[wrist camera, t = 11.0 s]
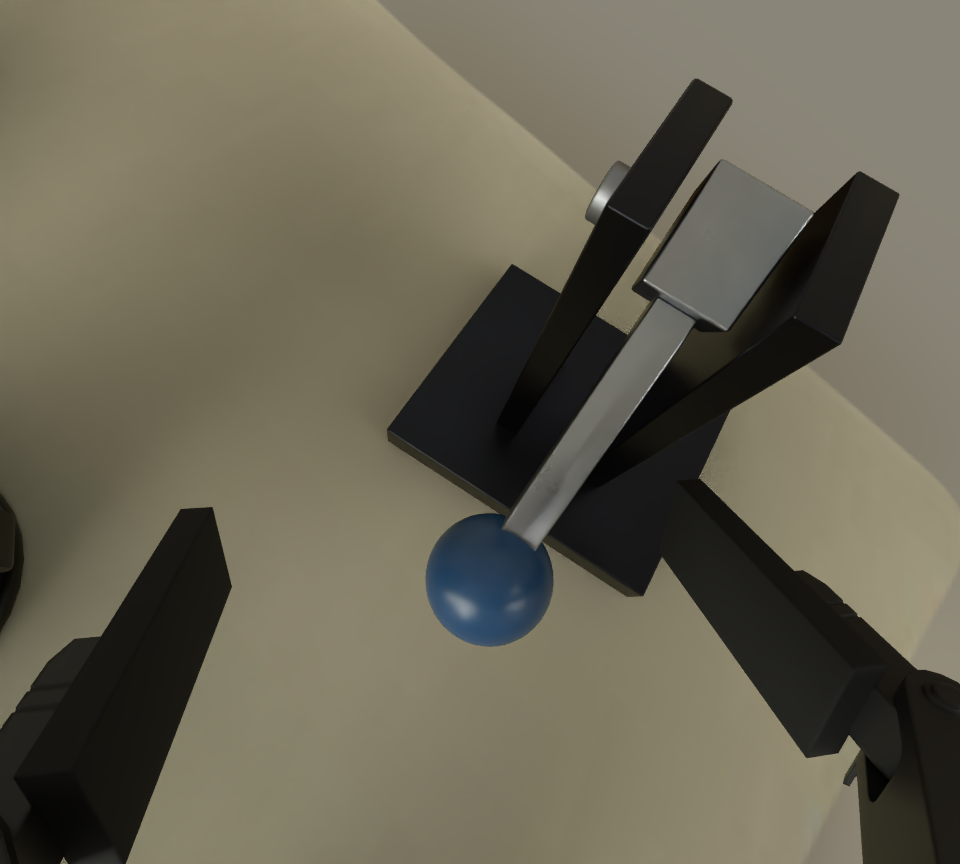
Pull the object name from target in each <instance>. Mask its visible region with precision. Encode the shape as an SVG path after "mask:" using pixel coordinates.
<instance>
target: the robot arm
mask: <svg viewBox="0 0 960 864" xmlns="http://www.w3.org/2000/svg"><path fill="white" fill-rule="evenodd" d="M659 553H660V554H661V556H662V557H663V558H664V560H665V561H666V563H667V564H668V565H669V567H670V568H671V570H672V571H673V572H674V574H675V575H676V577H677V578H678V579H679V581H680V582H681V584H682V585H683V586H684V588H685V589H686V591H687V592H688V593H689V595H690V596H691V597H692V599H693V600H694V602H695V603H696V604H697V606H698V607H699V609H700V610H701V611H702V613H703V614H704V616H705V617H706V618H707V620H708V621H709V623H710V624H711V625H712V627H713V628H714V630H715V631H716V632H717V634H718V635H719V637H720V638H721V639H722V641H723V642H724V644H725V645H726V646H727V648H728V649H729V651H730V652H731V653H732V655H733V656H734V658H735V659H736V660H737V662H738V663H739V665H740V666H741V667H742V669H743V670H744V672H745V673H746V674H747V676H748V677H749V679H750V680H751V681H752V683H753V684H754V686H755V687H756V688H757V690H758V691H759V693H760V694H761V695H762V697H763V698H764V699H765V701H766V702H767V704H768V705H769V706H770V708H771V709H772V711H773V712H774V713H775V715H776V716H777V718H778V719H779V720H780V722H781V723H782V725H783V726H784V727H785V729H786V730H787V732H788V733H789V734H790V736H791V737H792V739H793V740H794V741H795V743H796V744H797V746H798V747H799V748H800V750H801V751H802V753H803V754H804V755H805V757H806V758H811V757H817V756H823V755H830V754H836V753H839V751H840V749H841V748H842V746H843V744H844V742H845V741H846V739H847V737H848V735H850V736H851V738H852V739H853V740H854V741H855V742H856V744H857V745H858V746H859V747H860V749H861V750H860V751H859V753H858V755H857V756H856V758H855V760H854V761H853V763H852V765H851V766H850V768H849V769H848V771H847V773H846V774H845V777H844V782H843V784H845V785H847V786H850V784H851V783H852V781H853V779H854V778H855V777H856V776H857V781H858V796H859V811H860V825H861V841H862V855H863V864H960V684H959V683H958V682H956V681H954V680H952V679H950V678H948V677H945V676H944V675H941V674H938V673H935V672H931V671H927V670H917V669H916V668H915V667H913V666H912V665H911V664H910V663H909V662H908V661H907V660H906V659H905V658H904V657H903V656H902V655H901V654H900V653H898V652H897V651H896V650H895V649H894V648H893V647H892V646H891V645H890V644H889V643H888V642H887V641H886V640H885V639H884V638H882V637H881V636H880V635H879V634H878V633H877V632H876V631H875V630H874V629H873V628H872V627H871V626H870V625H869V624H868V623H866V622H865V621H864V620H863V619H862V618H861V617H858V616H857V613H856V612H855V611H854V610H853V609H852V608H850V607H849V606H848V605H847V604H844V603H843V600H842V599H841V598H840V597H839V596H838V595H837V594H836V593H834V592H833V591H832V590H831V589H830V588H829V587H828V586H827V585H826V584H825V583H823V582H821V581H820V580H818V579H816V578H815V577H813V576H811V575H810V574H808V573H807V572H805V571H803V570H801V571H794V570H793V569H792V568H791V567H790V566H789V565H788V564H786V563H785V562H784V561H783V560H782V559H781V558H780V557H779V556H778V555H777V554H776V553H775V552H774V551H773V550H772V549H771V548H770V547H769V546H768V545H767V544H766V543H765V542H764V541H763V540H762V539H761V538H760V537H759V536H758V535H757V534H756V533H755V532H754V531H753V530H752V529H751V528H750V527H749V526H748V525H747V524H746V523H745V522H744V521H743V520H741V519H740V518H739V517H738V516H737V515H736V514H735V513H734V512H733V511H732V510H731V509H730V508H729V507H728V506H727V505H726V504H725V503H724V502H723V501H722V500H721V499H720V498H719V497H718V496H717V495H716V494H715V493H714V492H713V491H712V490H711V489H710V488H709V487H708V486H707V485H706V484H705V483H704V482H703V481H702V480H701V479H689V480H677V481H676V485H675V489H674V493H673V497H672V501H671V505H670V509H669V513H668V517H667V521H666V525H665V529H664V534H663V538H662V542H661V546H660V550H659ZM231 588H232V585H231V581H230V577H229V573H228V569H227V565H226V561H225V557H224V553H223V548H222V544H221V540H220V536H219V532H218V528H217V524H216V520H215V515H214V511H213V507H207V508H189V509H181V510H180V511H179V513H178V514H177V516H176V518H175V519H174V521H173V522H172V524H171V526H170V527H169V529H168V530H167V532H166V534H165V535H164V537H163V538H162V540H161V542H160V543H159V545H158V546H157V548H156V550H155V551H154V553H153V554H152V556H151V558H150V559H149V561H148V562H147V564H146V566H145V567H144V569H143V570H142V572H141V574H140V575H139V577H138V578H137V580H136V582H135V583H134V585H133V586H132V588H131V590H130V591H129V593H128V594H127V596H126V598H125V599H124V601H123V602H122V604H121V606H120V607H119V609H118V610H117V612H116V613H115V615H114V617H113V618H112V620H111V621H110V623H109V625H108V626H107V628H106V629H105V631H104V633H103V634H102V636H101V637H90V638H79V639H74V640H73V641H72V642H70V643H69V644H68V645H67V646H66V647H64V648H63V649H62V650H61V651H60V652H59V653H57V654H56V655H55V656H54V657H53V658H52V659H50V660H49V661H48V662H47V664H46V665H45V667H44V668H43V670H42V671H41V672H40V674H39V675H38V677H37V678H36V679H35V681H34V682H33V684H32V685H31V689H30V691H28V692H26V694H25V695H24V697H23V698H22V699H21V701H20V702H19V704H18V705H17V707H16V711H15V713H12V714H11V715H10V716H9V718H8V719H7V721H6V722H5V724H4V725H3V726H2V728H1V729H0V864H60V863H61V861H62V859H63V857H64V858H65V860H66V861H67V863H68V864H126V862H127V859H128V856H129V854H130V851H131V849H132V846H133V843H134V841H135V838H136V835H137V833H138V830H139V828H140V825H141V822H142V820H143V817H144V815H145V812H146V809H147V807H148V804H149V802H150V799H151V796H152V794H153V791H154V789H155V786H156V783H157V781H158V778H159V776H160V773H161V770H162V768H163V765H164V762H165V760H166V757H167V755H168V752H169V749H170V747H171V744H172V742H173V739H174V736H175V734H176V731H177V729H178V726H179V723H180V721H181V718H182V716H183V713H184V710H185V708H186V705H187V702H188V700H189V697H190V695H191V692H192V689H193V687H194V684H195V682H196V679H197V676H198V674H199V671H200V669H201V666H202V663H203V661H204V658H205V656H206V653H207V650H208V648H209V645H210V642H211V640H212V637H213V635H214V632H215V629H216V627H217V624H218V622H219V619H220V616H221V614H222V611H223V609H224V606H225V603H226V601H227V598H228V596H229V593H230V590H231Z"/></svg>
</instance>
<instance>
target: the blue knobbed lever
mask: <svg viewBox="0 0 960 864" xmlns="http://www.w3.org/2000/svg"><path fill="white" fill-rule="evenodd" d="M813 215H814V213H813V211H811V210H810V209H808V208H806V207H804V206H803V205H801V204H799V203H798V202H796V201H794V200H792V199H791V198H789V197H787V196H786V195H784V194H782V193H780V192H779V191H777V190H775V189H773V188H772V187H770V186H769V185H767V184H765V183H763V182H762V181H760V180H758V179H757V178H755V177H753V176H751V175H750V174H748V173H746V172H745V171H743V170H741V169H739V168H738V167H736V166H734V165H733V164H731V163H729V162H727V161H726V160H721V161H719V162H718V163H717V165H716V166H715V167H714V168H713V169H712V171H711V172H710V173H709V174H708V176H707V177H706V178H705V179H704V180H703V182H702V183H701V184H700V185H699V187H698V188H697V189H696V190H695V191H694V193H693V195H692V196H691V197H690V199H689V201H688V202H687V204H686V205H685V207H684V208H683V210H682V211H681V213H680V214H679V216H678V217H677V219H676V220H675V222H674V223H673V225H672V227H671V228H670V229H669V231H668V232H667V234H666V236H665V237H664V239H663V240H662V242H661V243H660V245H659V246H658V248H657V249H656V251H655V252H654V254H653V255H652V257H651V258H650V260H649V261H648V263H647V265H646V266H645V268H644V269H643V271H642V272H641V274H640V275H639V277H638V278H637V280H636V281H635V283H634V284H633V286H632V290H633V291H634V292H636V293H637V294H639V295H641V296H642V297H644V298H645V299H647V300H649V301H650V302H649V304H648V305H647V307H646V308H645V310H644V311H643V313H642V314H641V316H640V317H639V319H638V320H637V322H636V323H635V325H634V326H633V328H632V329H631V331H630V332H629V334H628V335H627V336H626V338H625V339H624V341H623V342H622V344H621V345H620V347H619V348H618V350H617V351H616V353H615V354H614V356H613V357H612V359H611V360H610V362H609V363H608V365H607V366H606V368H605V369H604V371H603V372H602V374H601V375H600V377H599V378H598V380H597V381H596V383H595V384H594V386H593V387H592V389H591V390H590V392H589V393H588V394H587V396H586V397H585V399H584V400H583V402H582V403H581V405H580V406H579V408H578V409H577V411H576V412H575V414H574V415H573V417H572V418H571V420H570V421H569V423H568V424H567V426H566V427H565V429H564V430H563V432H562V433H561V435H560V436H559V438H558V439H557V441H556V442H555V444H554V445H553V447H552V448H551V450H550V451H549V453H548V454H547V455H546V457H545V458H544V460H543V461H542V463H541V464H540V466H539V467H538V469H537V470H536V472H535V473H534V475H533V476H532V478H531V479H530V481H529V482H528V484H527V485H526V487H525V488H524V490H523V491H522V493H521V494H520V496H519V497H518V499H517V500H516V502H515V503H514V505H513V506H512V508H511V509H510V511H509V512H508V513H507V515H506V516H505V515H501V514H490V513H487V514H478V515H473V516H470V517H467V518H465V519H463V520H461V521H459V522H457V523H455V524H454V525H453V526H451V527H450V528H449V529H448V530H447V531H446V532H445V533H444V534H443V535H442V536H441V537H440V538H439V540H438V541H437V542H436V544H435V546H434V548H433V550H432V552H431V554H430V557H429V560H428V564H427V569H426V591H427V596H428V599H429V602H430V605H431V608H432V610H433V612H434V614H435V615H436V617H437V618H438V620H439V621H440V622H441V624H442V625H443V626H444V627H445V628H446V629H447V630H448V631H449V632H451V633H452V634H453V635H454V636H456V637H458V638H459V639H461V640H463V641H465V642H468V643H471V644H474V645H479V646H489V647H490V646H501V645H506V644H509V643H512V642H514V641H516V640H518V639H520V638H522V637H524V636H525V635H527V634H528V633H529V632H530V631H531V630H532V629H533V628H534V627H535V626H536V625H537V624H538V623H539V622H540V621H541V619H542V617H543V616H544V614H545V612H546V610H547V608H548V606H549V603H550V600H551V596H552V592H553V569H552V564H551V561H550V557H549V555H548V552H547V550H546V548H545V546H544V545H543V543H542V541H543V540H544V538H545V537H546V536H547V534H548V533H549V531H550V530H551V528H552V527H553V526H554V524H555V523H556V521H557V520H558V519H559V517H560V516H561V514H562V513H563V512H564V510H565V509H566V507H567V506H568V504H569V503H570V502H571V500H572V499H573V497H574V496H575V495H576V493H577V492H578V490H579V489H580V488H581V486H582V485H583V483H584V482H585V480H586V479H587V478H588V476H589V475H590V473H591V472H592V471H593V469H594V468H595V466H596V465H597V464H598V462H599V461H600V459H601V458H602V456H603V455H604V454H605V452H606V451H607V449H608V448H609V447H610V445H611V444H612V442H613V441H614V440H615V438H616V437H617V435H618V434H619V432H620V431H621V430H622V428H623V427H624V425H625V424H626V423H627V421H628V420H629V418H630V417H631V416H632V414H633V413H634V411H635V410H636V408H637V407H638V406H639V404H640V403H641V401H642V400H643V399H644V397H645V396H646V394H647V393H648V392H649V390H650V389H651V387H652V386H653V385H654V383H655V382H656V380H657V379H658V377H659V376H660V375H661V373H662V372H663V370H664V369H665V368H666V366H667V365H668V363H669V362H670V361H671V359H672V358H673V356H674V355H675V353H676V352H677V351H678V349H679V348H680V346H681V345H682V344H683V342H684V341H685V339H686V338H687V337H688V335H689V334H690V332H691V331H692V329H693V328H695V329H696V330H698V331H700V332H728V331H730V330H731V328H732V327H733V326H734V324H735V323H736V322H737V320H738V319H739V317H740V316H741V315H742V313H743V312H744V311H745V309H746V308H747V307H748V305H749V304H750V302H751V301H752V300H753V298H754V297H755V296H756V294H757V293H758V291H759V290H760V289H761V287H762V286H763V285H764V283H765V282H766V281H767V279H768V278H769V276H770V275H771V274H772V272H773V271H774V270H775V268H776V267H777V266H778V264H779V263H780V261H781V260H782V259H783V257H784V256H785V255H786V253H787V252H788V250H789V249H790V248H791V246H792V245H793V244H794V242H795V241H796V240H797V238H798V237H799V235H800V234H801V233H802V231H803V230H804V229H805V227H806V226H807V224H808V223H809V222H810V220H811V219H812V218H813Z"/></svg>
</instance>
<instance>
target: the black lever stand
mask: <svg viewBox="0 0 960 864" xmlns="http://www.w3.org/2000/svg"><path fill="white" fill-rule="evenodd" d="M732 101H733V100H732V99H731V97H729V96H727V95H725V94H724V93H722V92H720V91H718V90H717V89H715V88H713V87H711V86H710V85H708V84H706V83H705V82H703V81H701V80H699V79H694V80H693V81H692V82H691V83H690V85H689V86H688V87H687V89H686V90H685V92H684V93H683V95H682V96H681V97H680V99H679V100H678V102H677V103H676V105H675V106H674V108H673V109H672V110H671V112H670V113H669V115H668V116H667V117H666V119H665V120H664V122H663V123H662V124H661V126H660V127H659V129H658V130H657V132H656V133H655V134H654V136H653V137H652V139H651V140H650V142H649V143H648V144H647V146H646V147H645V149H644V150H643V152H642V153H641V154H640V156H639V157H638V159H637V160H636V162H635V163H634V164H633V166H632V167H629V166H627V165H626V164H624V163H623V162H621V161H617V162H615V163H614V165H613V166H612V167H611V168H610V170H609V171H608V173H607V174H606V176H605V178H604V179H603V181H602V182H601V184H600V186H599V187H598V189H597V191H596V193H595V195H594V196H593V198H592V200H591V202H590V204H589V206H588V209H587V211H586V214H585V219H586V220H588V221H589V222H591V223H593V224H594V225H595V226H594V228H593V230H592V232H591V234H590V236H589V238H588V240H587V242H586V244H585V246H584V248H583V250H582V252H581V254H580V256H579V258H578V260H577V262H576V264H575V266H574V268H573V270H572V272H571V274H570V276H569V278H568V280H567V282H566V284H565V286H564V288H563V290H562V292H561V294H560V293H559V292H557V291H555V290H554V289H552V288H550V287H549V286H547V285H546V284H544V283H542V282H541V281H539V280H538V279H536V278H534V277H533V276H531V275H529V274H528V273H526V272H525V271H523V270H521V269H520V268H518V267H516V266H515V265H513V264H512V265H511V266H510V267H509V268H508V270H507V271H506V272H505V274H504V275H503V276H502V278H501V279H500V280H499V282H498V283H497V284H496V286H495V287H494V288H493V290H492V291H491V292H490V294H489V295H488V296H487V297H486V299H485V300H484V301H483V303H482V304H481V305H480V307H479V308H478V309H477V311H476V312H475V313H474V315H473V316H472V317H471V319H470V320H469V321H468V323H467V324H466V325H465V327H464V328H463V329H462V331H461V332H460V333H459V335H458V336H457V337H456V339H455V340H454V341H453V343H452V344H451V345H450V347H449V348H448V349H447V350H446V352H445V353H444V354H443V356H442V357H441V358H440V360H439V361H438V362H437V364H436V365H435V366H434V368H433V369H432V370H431V372H430V373H429V374H428V376H427V377H426V378H425V380H424V381H423V382H422V384H421V385H420V386H419V388H418V389H417V390H416V392H415V393H414V394H413V396H412V397H411V398H410V400H409V401H408V402H407V403H406V405H405V406H404V407H403V409H402V410H401V411H400V413H399V414H398V415H397V417H396V418H395V419H394V421H393V422H392V423H391V425H390V426H389V427H388V429H387V434H388V441H389V442H391V443H392V444H394V445H395V446H397V447H399V448H400V449H402V450H403V451H405V452H406V453H408V454H409V455H411V456H412V457H414V458H415V459H417V460H418V461H420V462H422V463H423V464H425V465H426V466H428V467H429V468H431V469H432V470H434V471H435V472H437V473H438V474H440V475H441V476H443V477H445V478H446V479H448V480H449V481H451V482H452V483H454V484H455V485H457V486H458V487H460V488H461V489H463V490H464V491H466V492H468V493H469V494H471V495H472V496H474V497H475V498H477V499H478V500H480V501H481V502H483V503H484V504H486V505H487V506H489V507H491V508H492V509H494V510H495V511H497V512H498V513H500V514H501V515H505V516H506V515H507V513H508V512H509V511H510V509H511V508H512V506H513V505H514V503H515V502H516V500H517V499H518V497H519V496H520V494H521V493H522V491H523V490H524V488H525V487H526V485H527V484H528V482H529V481H530V479H531V478H532V476H533V475H534V473H535V472H536V470H537V469H538V467H539V466H540V464H541V463H542V461H543V460H544V458H545V457H546V455H547V454H548V453H549V451H550V450H551V448H552V447H553V445H554V444H555V442H556V441H557V439H558V438H559V436H560V435H561V433H562V432H563V430H564V429H565V427H566V426H567V424H568V423H569V421H570V420H571V418H572V417H573V415H574V414H575V412H576V411H577V409H578V408H579V406H580V405H581V403H582V402H583V400H584V399H585V397H586V396H587V394H588V393H589V392H590V390H591V389H592V387H593V386H594V384H595V383H596V381H597V380H598V378H599V377H600V375H601V374H602V372H603V371H604V369H605V368H606V366H607V365H608V363H609V362H610V360H611V359H612V357H613V356H614V354H615V353H616V351H617V350H618V348H619V347H620V345H621V344H622V342H623V341H624V339H625V338H626V336H627V334H625V333H623V332H622V331H620V330H619V329H617V328H615V327H614V326H612V325H611V324H609V323H607V322H606V321H604V320H602V319H601V318H599V317H598V316H596V314H597V313H598V311H599V310H600V308H601V306H602V305H603V303H604V302H605V300H606V299H607V297H608V296H609V294H610V293H611V291H612V290H613V288H614V287H615V285H616V284H617V282H618V281H619V279H620V278H621V276H622V275H623V273H624V272H625V270H626V269H627V267H628V266H629V264H630V263H631V261H632V260H633V258H634V257H635V255H636V254H637V252H638V251H639V249H640V248H641V246H642V244H643V243H644V241H645V240H646V238H647V237H648V235H649V234H650V232H651V231H652V229H653V228H654V226H655V224H656V223H657V221H658V220H659V218H660V217H661V215H662V214H663V212H664V210H665V209H666V207H667V205H668V204H669V203H670V201H671V199H672V198H673V196H674V195H675V193H676V192H677V190H678V188H679V187H680V185H681V184H682V182H683V180H684V179H685V177H686V176H687V174H688V173H689V171H690V170H691V168H692V166H693V165H694V163H695V162H696V160H697V158H698V157H699V155H700V154H701V152H702V151H703V149H704V147H705V146H706V144H707V143H708V141H709V140H710V138H711V136H712V135H713V133H714V132H715V130H716V129H717V127H718V125H719V124H720V122H721V121H722V119H723V118H724V116H725V114H726V113H727V111H728V110H729V108H730V106H731V105H732ZM898 198H899V193H897V192H895V191H894V190H892V189H890V188H888V187H887V186H885V185H883V184H881V183H880V182H878V181H876V180H874V179H873V178H871V177H869V176H868V175H866V174H864V173H862V172H860V171H859V172H857V173H856V174H855V175H854V176H853V177H852V178H851V179H850V180H849V181H848V182H847V183H846V184H845V185H843V187H841V188H840V189H839V190H838V191H837V192H836V193H835V194H834V195H833V196H832V197H831V198H830V199H829V200H828V201H827V202H826V203H825V204H823V206H821V207H820V208H819V209H818V210H817V211H816V212H815V213H814V215H813V218H812V219H811V220H810V222H809V223H808V224H807V226H806V227H805V229H804V230H803V231H802V233H801V234H800V235H799V237H798V238H797V240H796V241H795V242H794V244H793V245H792V246H791V248H790V249H789V250H788V252H787V253H786V255H785V256H784V257H783V259H782V260H781V261H780V263H779V264H778V266H777V267H776V268H775V270H774V271H773V272H772V274H771V275H770V276H769V278H768V279H767V281H766V282H765V283H764V285H763V286H762V287H761V289H760V290H759V291H758V293H757V294H756V296H755V297H754V298H753V300H752V301H751V302H750V304H749V305H748V307H747V308H746V309H745V311H744V312H743V313H742V315H741V316H740V317H739V319H738V320H737V322H736V323H735V324H734V326H733V327H732V328H731V330H730V331H728V332H700V331H698V330H696V329H695V328H693V329H692V331H691V332H690V334H689V335H688V337H687V338H686V339H685V341H684V342H683V344H682V345H681V346H680V348H679V349H678V351H677V352H676V353H675V355H674V356H673V358H672V359H671V361H670V362H669V363H668V365H667V366H666V368H665V369H664V370H663V372H662V373H661V375H660V376H659V377H658V379H657V380H656V382H655V383H654V385H653V386H652V387H651V389H650V390H649V392H648V393H647V394H646V396H645V397H644V399H643V400H642V401H641V403H640V404H639V406H638V407H637V408H636V410H635V411H634V413H633V414H632V416H631V417H630V418H629V420H628V421H627V423H626V424H625V425H624V427H623V428H622V430H621V431H620V432H619V434H618V435H617V437H616V438H615V440H614V441H613V442H612V444H611V445H610V447H609V448H608V449H607V451H606V452H605V454H604V455H603V456H602V458H601V459H600V461H599V462H598V464H597V465H596V466H595V468H594V469H593V471H592V472H591V473H590V475H589V476H588V478H587V479H586V480H585V482H584V483H583V485H582V486H581V488H580V489H579V490H578V492H577V493H576V495H575V496H574V497H573V499H572V500H571V502H570V503H569V504H568V506H567V507H566V509H565V510H564V512H563V513H562V514H561V516H560V517H559V519H558V520H557V521H556V523H555V524H554V526H553V527H552V528H551V530H550V531H549V533H548V534H547V536H546V537H545V538H544V540H543V542H544V543H546V544H547V545H549V546H550V547H552V548H553V549H555V550H556V551H558V552H560V553H561V554H563V555H564V556H566V557H567V558H569V559H570V560H572V561H573V562H575V563H576V564H578V565H579V566H581V567H583V568H584V569H586V570H587V571H589V572H590V573H592V574H593V575H595V576H596V577H598V578H599V579H601V580H602V581H604V582H606V583H607V584H609V585H610V586H612V587H613V588H615V589H616V590H618V591H619V592H621V593H622V594H624V595H625V596H627V597H638V596H644V594H645V592H646V589H647V587H648V585H649V583H650V581H651V579H652V577H653V574H654V572H655V570H656V568H657V566H658V564H659V562H660V559H661V557H662V556H661V554H660V553H659V550H660V546H661V542H662V538H663V534H664V529H665V525H666V521H667V517H668V513H669V509H670V505H671V501H672V497H673V493H674V489H675V485H676V481H677V480H689V479H698V478H699V476H700V474H701V472H702V469H703V467H704V465H705V463H706V461H707V459H708V457H709V454H710V452H711V450H712V448H713V446H714V444H715V442H716V439H717V437H718V435H719V433H720V431H721V429H722V427H723V424H724V422H725V420H726V418H727V416H728V414H729V412H730V410H731V409H732V408H734V407H736V406H737V405H739V404H741V403H742V402H744V401H746V400H748V399H749V398H751V397H753V396H754V395H756V394H758V393H759V392H761V391H763V390H764V389H766V388H768V387H769V386H771V385H773V384H775V383H776V382H778V381H780V380H781V379H783V378H785V377H786V376H788V375H790V374H791V373H793V372H795V371H796V370H798V369H800V368H802V367H803V366H805V365H807V364H808V363H810V362H812V361H813V360H815V359H816V358H818V357H820V356H822V355H823V354H825V353H827V352H828V351H830V350H831V349H833V348H835V347H837V346H839V345H840V344H841V343H842V341H843V338H844V336H845V333H846V331H847V328H848V325H849V323H850V320H851V318H852V315H853V313H854V310H855V308H856V305H857V302H858V300H859V297H860V295H861V292H862V290H863V287H864V285H865V282H866V280H867V277H868V274H869V272H870V269H871V267H872V264H873V262H874V259H875V257H876V253H877V251H878V249H879V246H880V244H881V241H882V239H883V236H884V234H885V231H886V229H887V226H888V223H889V221H890V218H891V215H892V213H893V211H894V208H895V205H896V203H897V200H898Z"/></svg>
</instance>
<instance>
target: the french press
mask: <svg viewBox="0 0 960 864" xmlns="http://www.w3.org/2000/svg"><path fill="white" fill-rule="evenodd" d="M23 562H24V556H23V545H22V535H21V532H20V529H19V526H18V523H17V520H16V517H15V514H14V513H13V511H12V510H11V508H10V507H9V505H8V504H7V502H6V501H5V499H4V498H3V496H2V495H1V494H0V632H1V630H2V628H3V626H4V625H5V623H6V621H7V619H8V617H9V616H10V614H11V611H12V608H13V605H14V603H15V600H16V597H17V594H18V591H19V588H20V584H21V577H22V570H23Z"/></svg>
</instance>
